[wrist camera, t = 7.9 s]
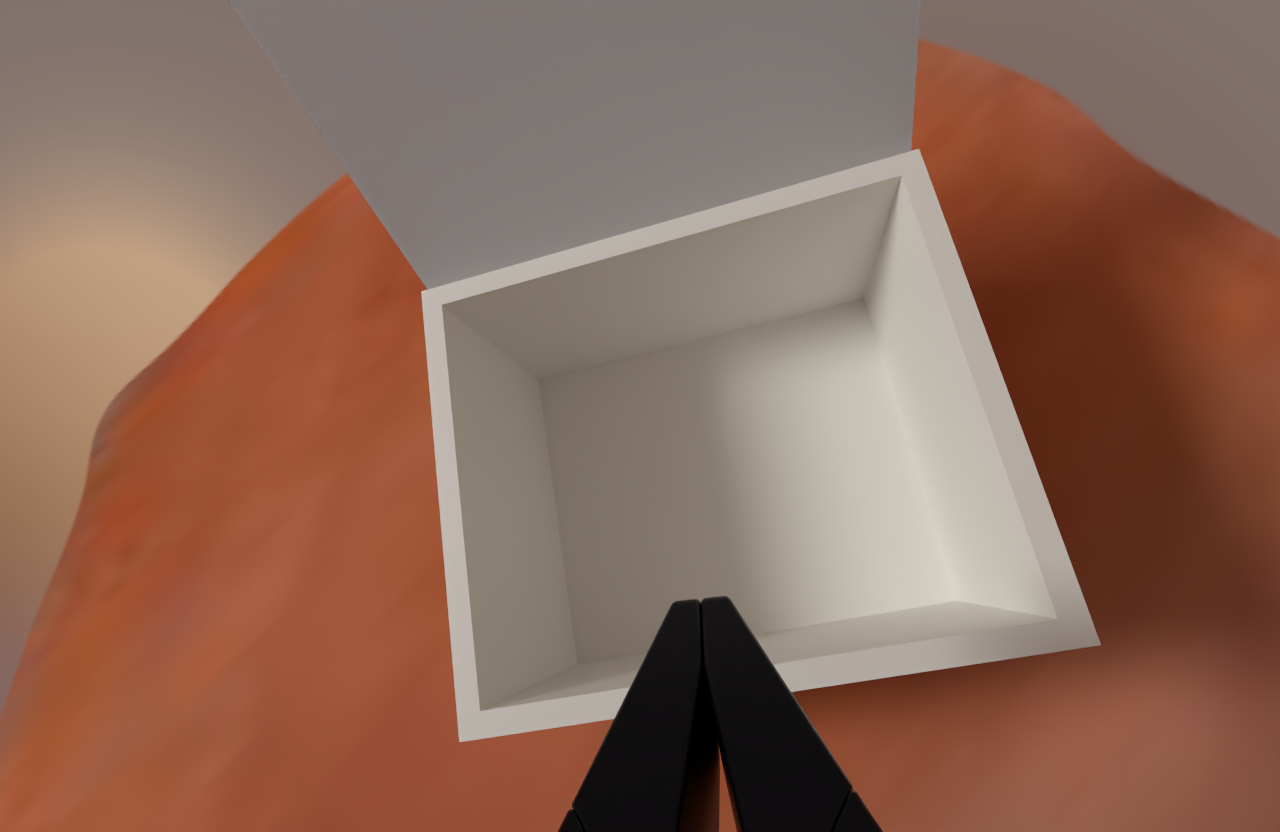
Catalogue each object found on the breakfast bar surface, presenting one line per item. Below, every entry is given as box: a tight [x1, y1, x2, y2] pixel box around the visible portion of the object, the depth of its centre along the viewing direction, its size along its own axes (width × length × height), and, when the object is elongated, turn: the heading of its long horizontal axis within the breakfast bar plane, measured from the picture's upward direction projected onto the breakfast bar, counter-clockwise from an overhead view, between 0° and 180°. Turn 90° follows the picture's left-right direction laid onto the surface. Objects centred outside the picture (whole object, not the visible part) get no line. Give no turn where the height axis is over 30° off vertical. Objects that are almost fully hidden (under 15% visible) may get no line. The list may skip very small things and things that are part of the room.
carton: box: [421, 149, 1101, 742], centre depth 19 cm, size 12×14×8 cm
